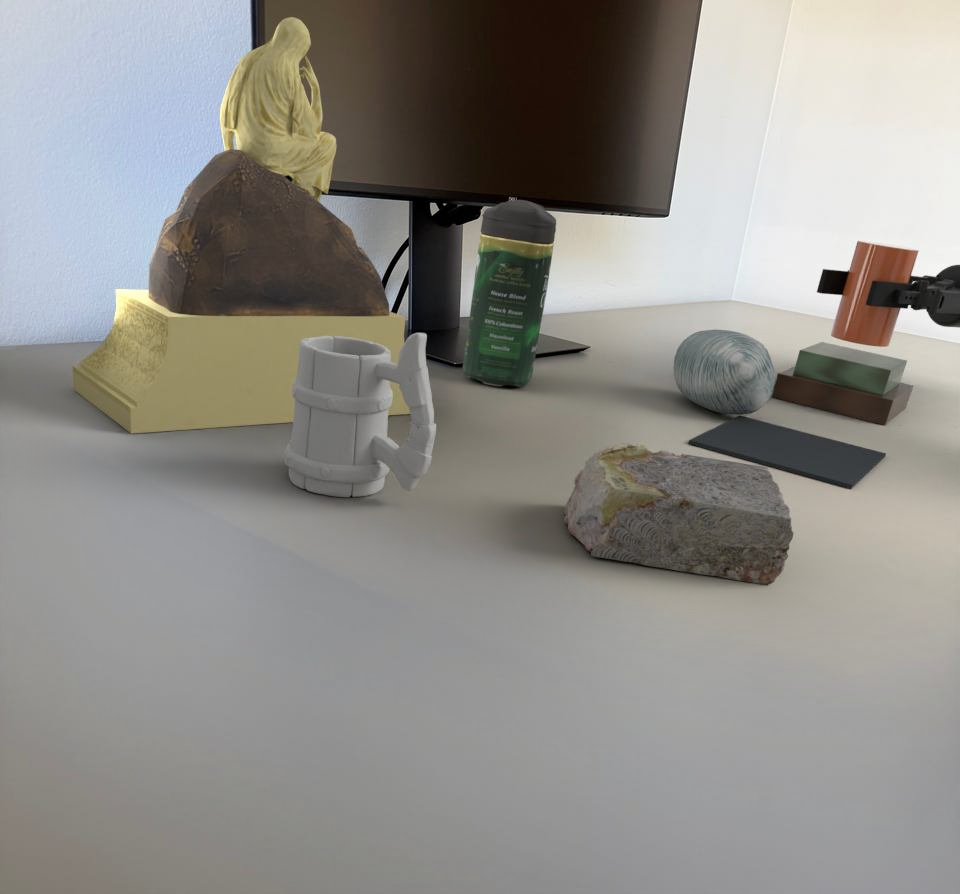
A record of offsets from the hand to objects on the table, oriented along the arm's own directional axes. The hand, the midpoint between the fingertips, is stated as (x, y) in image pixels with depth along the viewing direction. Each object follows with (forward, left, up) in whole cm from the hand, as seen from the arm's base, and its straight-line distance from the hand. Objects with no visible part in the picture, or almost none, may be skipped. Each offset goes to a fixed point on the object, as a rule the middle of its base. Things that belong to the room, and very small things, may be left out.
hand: (846, 287), depth 115 cm
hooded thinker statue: (+36, +61, -14) cm, 72 cm away
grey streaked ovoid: (+4, +14, -11) cm, 19 cm away
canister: (-2, -4, -6) cm, 8 cm away
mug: (+16, +72, -14) cm, 75 cm away
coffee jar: (+29, +30, -14) cm, 44 cm away
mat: (-4, +27, -14) cm, 30 cm away
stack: (-2, -4, -14) cm, 15 cm away
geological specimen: (-5, +63, -14) cm, 65 cm away
